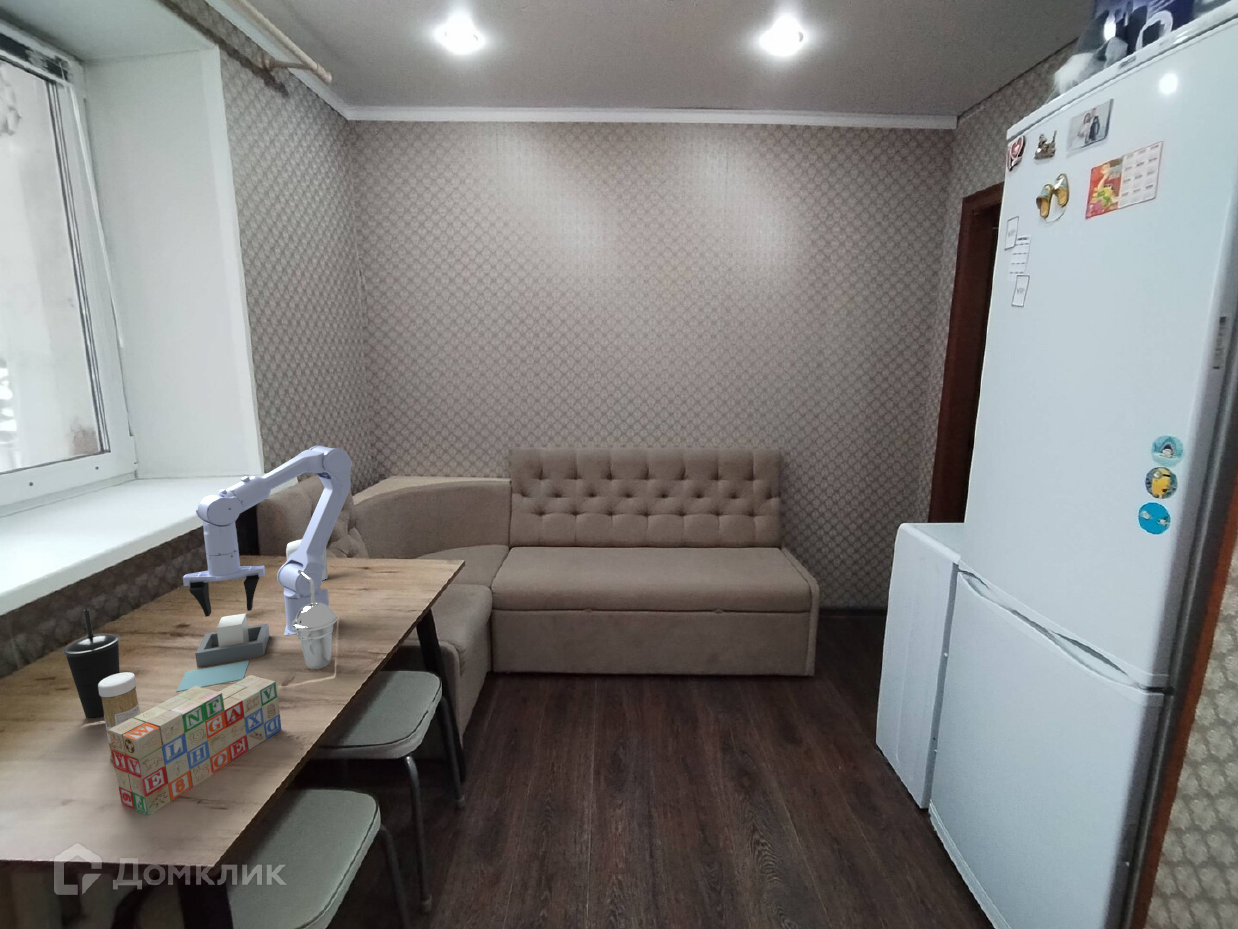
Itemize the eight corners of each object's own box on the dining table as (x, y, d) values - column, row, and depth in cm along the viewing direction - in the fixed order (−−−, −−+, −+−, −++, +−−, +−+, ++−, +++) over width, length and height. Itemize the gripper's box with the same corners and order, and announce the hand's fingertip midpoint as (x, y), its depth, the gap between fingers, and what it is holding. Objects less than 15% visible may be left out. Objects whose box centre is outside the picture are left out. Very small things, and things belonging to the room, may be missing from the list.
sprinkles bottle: (107, 755, 96) (94, 679, 94) (142, 741, 100) (131, 668, 97) (113, 767, 93) (100, 689, 91) (149, 753, 97) (138, 677, 94)
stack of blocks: (257, 722, 105) (249, 658, 103) (282, 730, 103) (275, 665, 101) (120, 805, 86) (107, 728, 83) (147, 817, 83) (135, 739, 81)
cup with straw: (294, 680, 119) (284, 586, 115) (297, 659, 127) (288, 571, 123) (341, 671, 122) (333, 579, 119) (341, 651, 130) (333, 565, 127)
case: (269, 637, 137) (268, 623, 136) (264, 657, 128) (262, 642, 127) (207, 647, 132) (205, 633, 131) (197, 669, 123) (195, 653, 122)
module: (249, 642, 133) (245, 613, 132) (245, 654, 128) (241, 624, 126) (225, 646, 131) (222, 616, 130) (220, 658, 126) (216, 628, 125)
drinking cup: (68, 730, 103) (49, 622, 99) (83, 707, 109) (65, 605, 106) (124, 718, 106) (107, 613, 102) (135, 697, 113) (119, 598, 109)
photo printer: (329, 575, 175) (325, 535, 173) (327, 580, 171) (323, 539, 169) (290, 579, 172) (286, 539, 170) (287, 585, 168) (283, 543, 166)
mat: (249, 663, 125) (249, 660, 125) (243, 681, 118) (243, 678, 118) (186, 674, 121) (186, 671, 121) (176, 694, 114) (176, 691, 113)
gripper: (175, 561, 119) (184, 625, 121) (259, 553, 125) (265, 613, 127) (185, 551, 125) (192, 611, 128) (264, 543, 131) (269, 601, 133)
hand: (229, 611), depth 128 cm, fingers open, 7 cm apart
